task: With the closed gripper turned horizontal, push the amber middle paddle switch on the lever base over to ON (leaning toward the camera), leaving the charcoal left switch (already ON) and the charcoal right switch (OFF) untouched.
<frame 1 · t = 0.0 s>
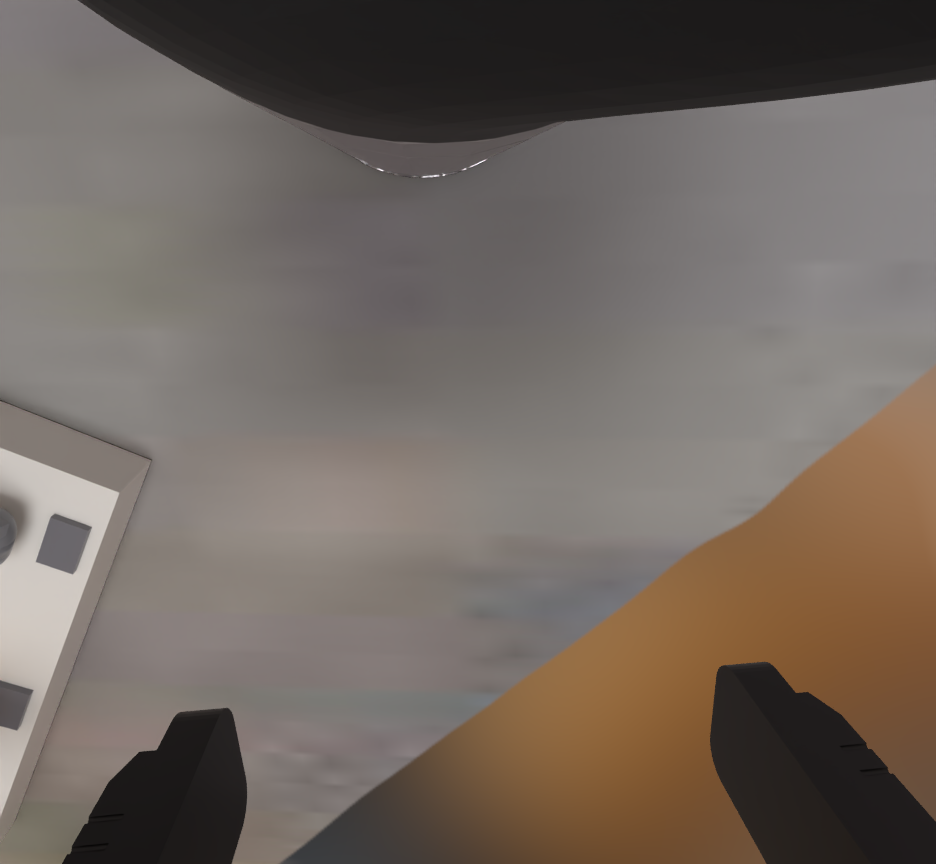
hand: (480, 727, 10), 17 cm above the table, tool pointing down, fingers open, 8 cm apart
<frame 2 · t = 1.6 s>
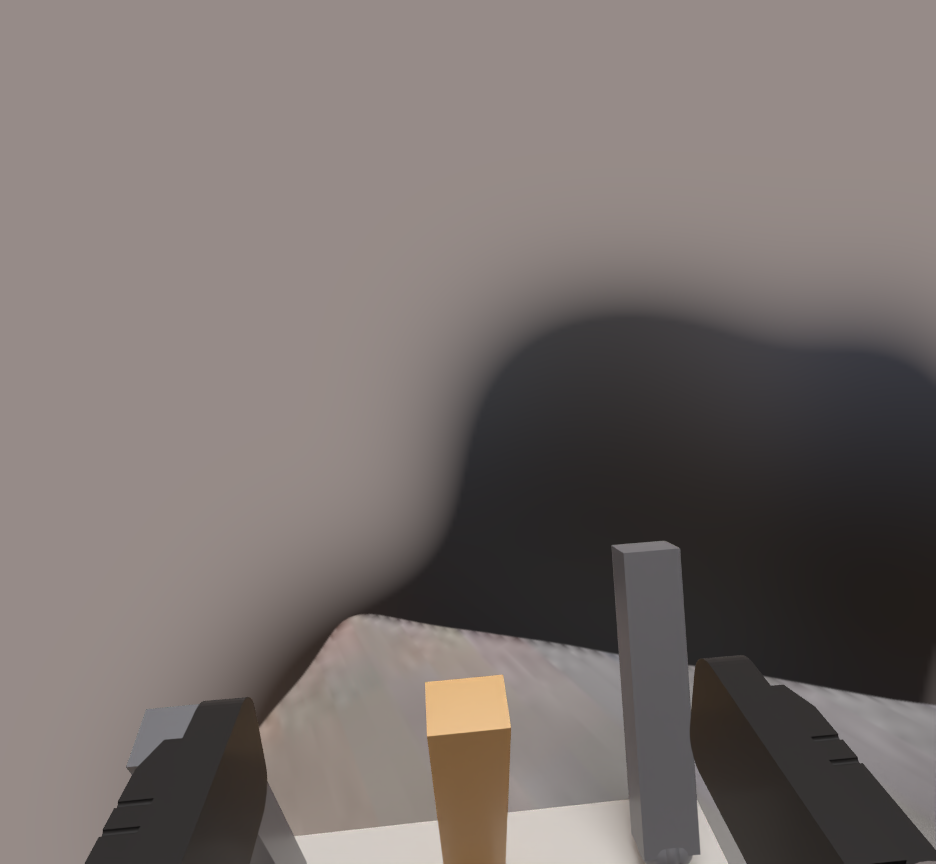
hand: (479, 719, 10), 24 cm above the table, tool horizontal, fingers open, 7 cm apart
lever middle: (471, 805, 24), point 10 cm above the table, hinge at -18.0°
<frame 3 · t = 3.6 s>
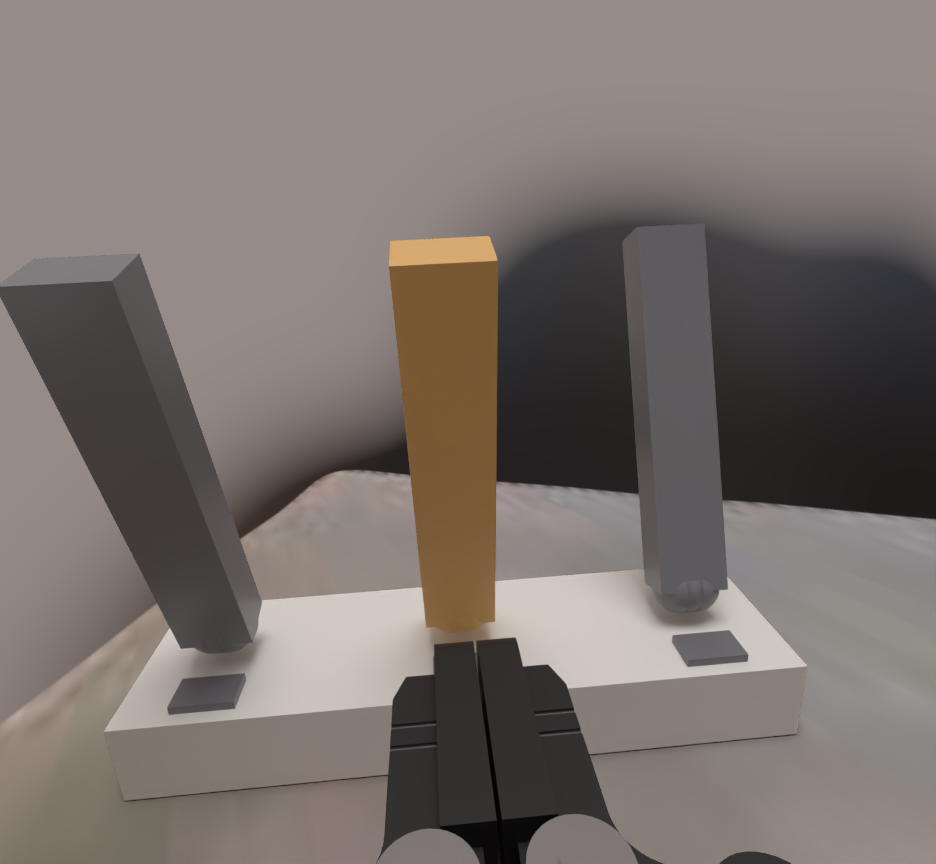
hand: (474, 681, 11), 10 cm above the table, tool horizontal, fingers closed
lever base: (464, 694, 25), on the table
lever middle: (452, 477, 20), point 10 cm above the table, hinge at -18.0°
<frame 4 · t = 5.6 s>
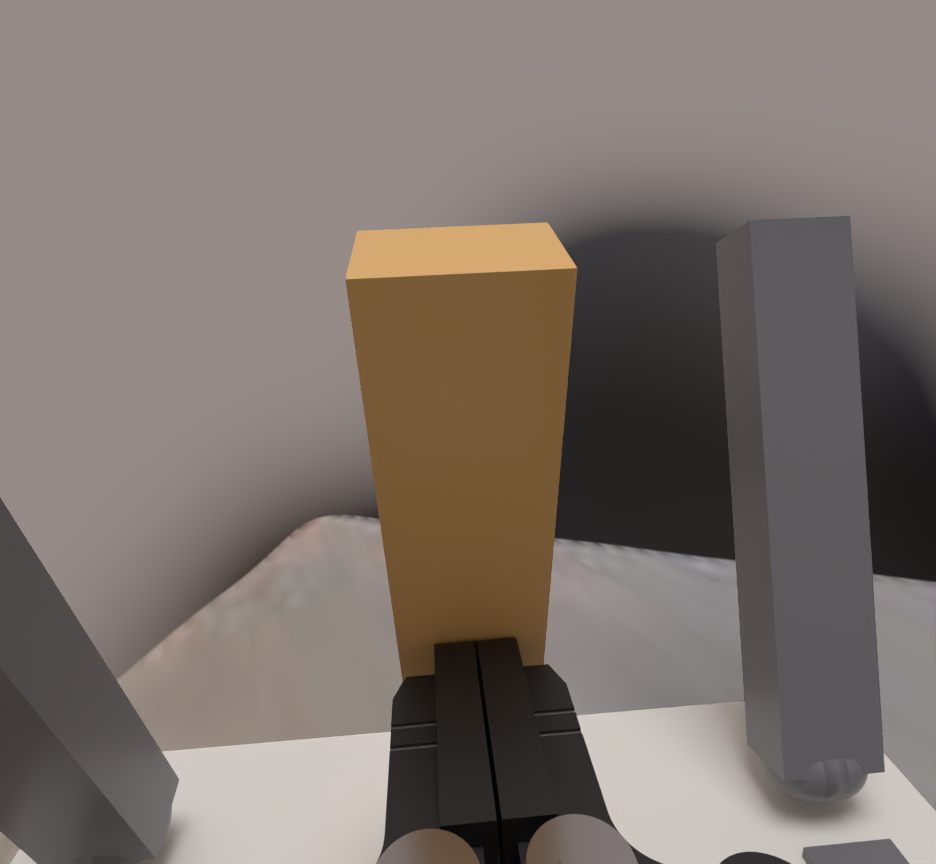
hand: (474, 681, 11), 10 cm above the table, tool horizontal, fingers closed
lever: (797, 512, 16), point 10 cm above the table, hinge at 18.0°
lever middle: (469, 629, 12), point 11 cm above the table, hinge at -17.1°, touching gripper
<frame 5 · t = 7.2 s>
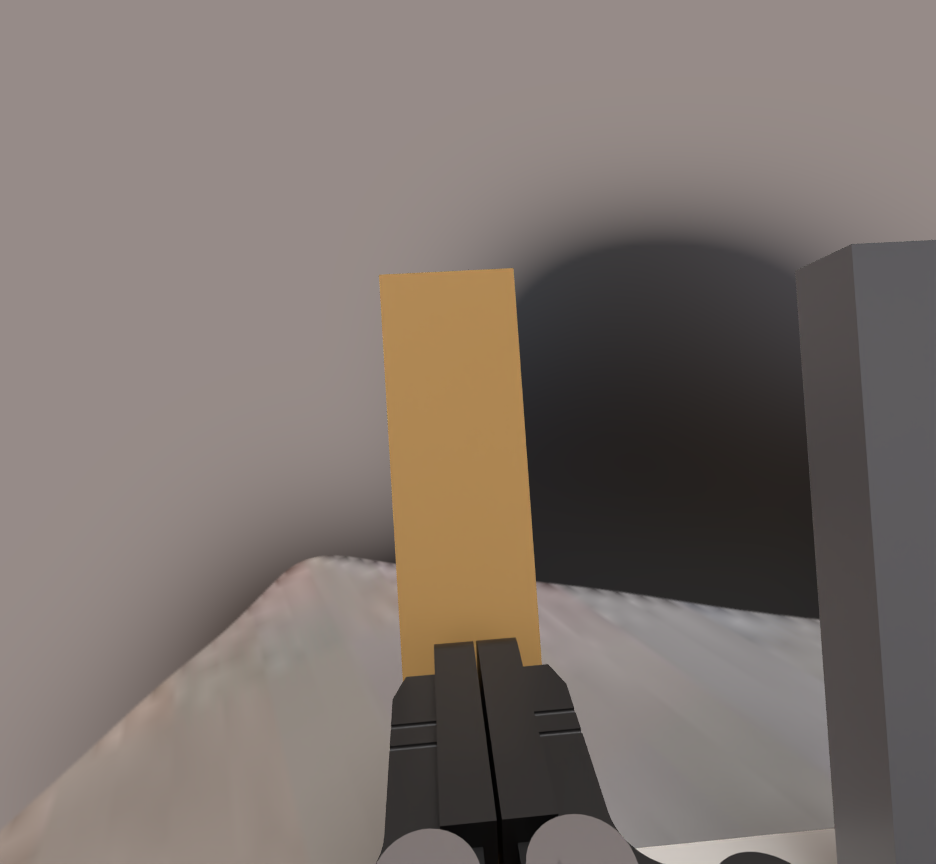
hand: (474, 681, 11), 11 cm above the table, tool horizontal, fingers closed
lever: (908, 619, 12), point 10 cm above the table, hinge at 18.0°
lever middle: (469, 651, 12), point 10 cm above the table, hinge at 20.5°, touching gripper
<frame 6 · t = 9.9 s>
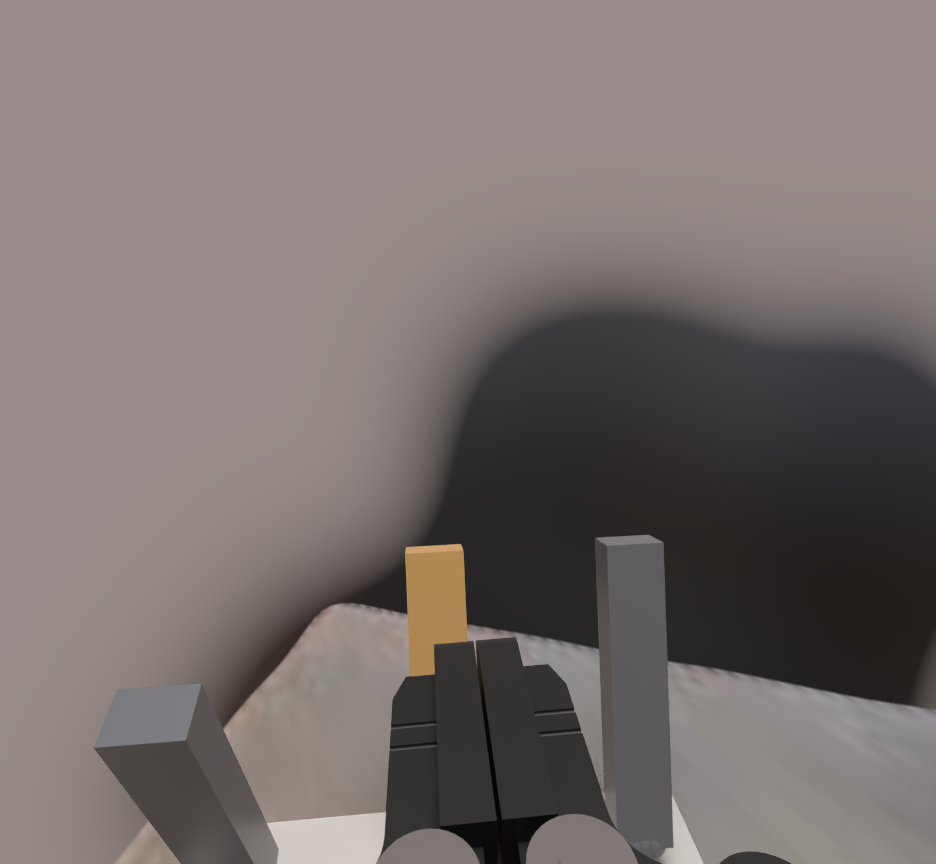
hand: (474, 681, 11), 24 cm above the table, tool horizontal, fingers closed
lever middle: (441, 712, 28), point 10 cm above the table, hinge at 20.6°
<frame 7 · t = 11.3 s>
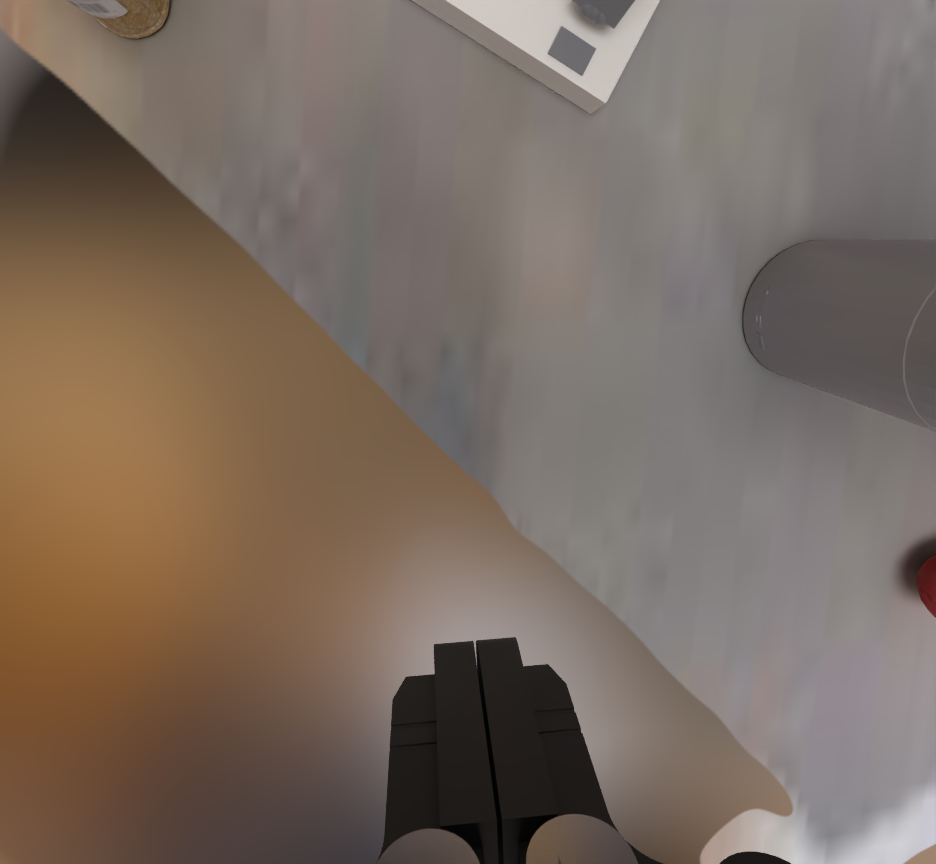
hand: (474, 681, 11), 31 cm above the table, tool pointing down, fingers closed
red oval lump: (923, 564, 49), on the table
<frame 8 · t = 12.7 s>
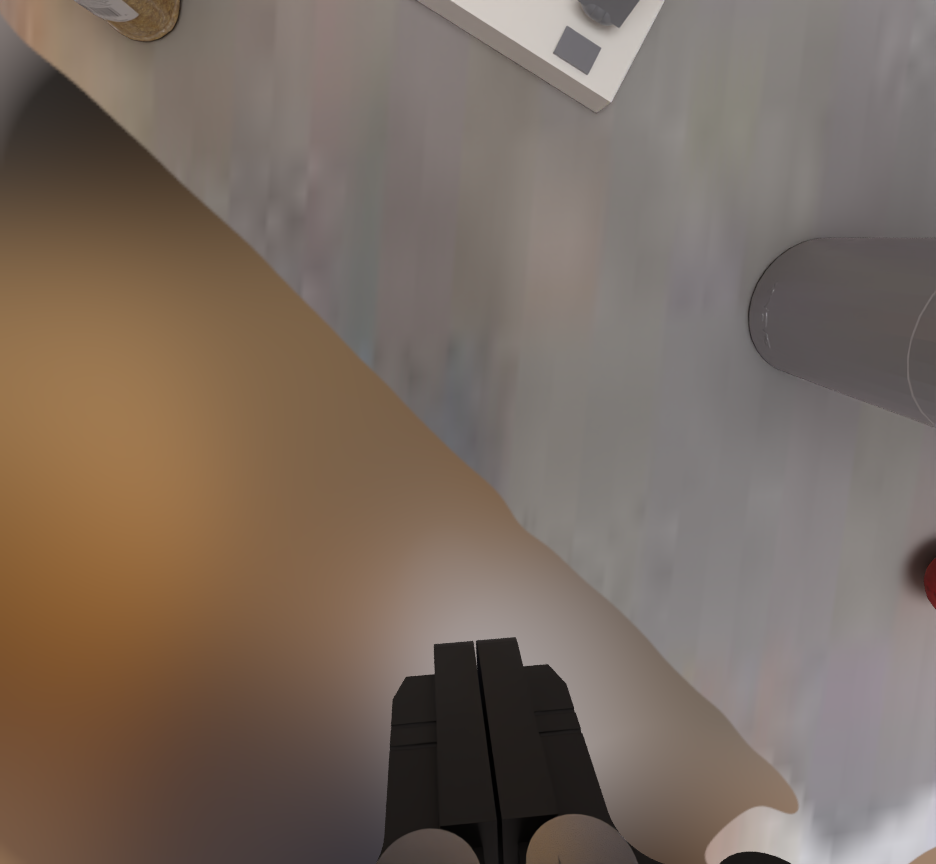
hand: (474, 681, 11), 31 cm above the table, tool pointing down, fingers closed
red oval lump: (931, 562, 49), on the table
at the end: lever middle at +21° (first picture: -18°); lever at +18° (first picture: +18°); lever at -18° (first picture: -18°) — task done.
